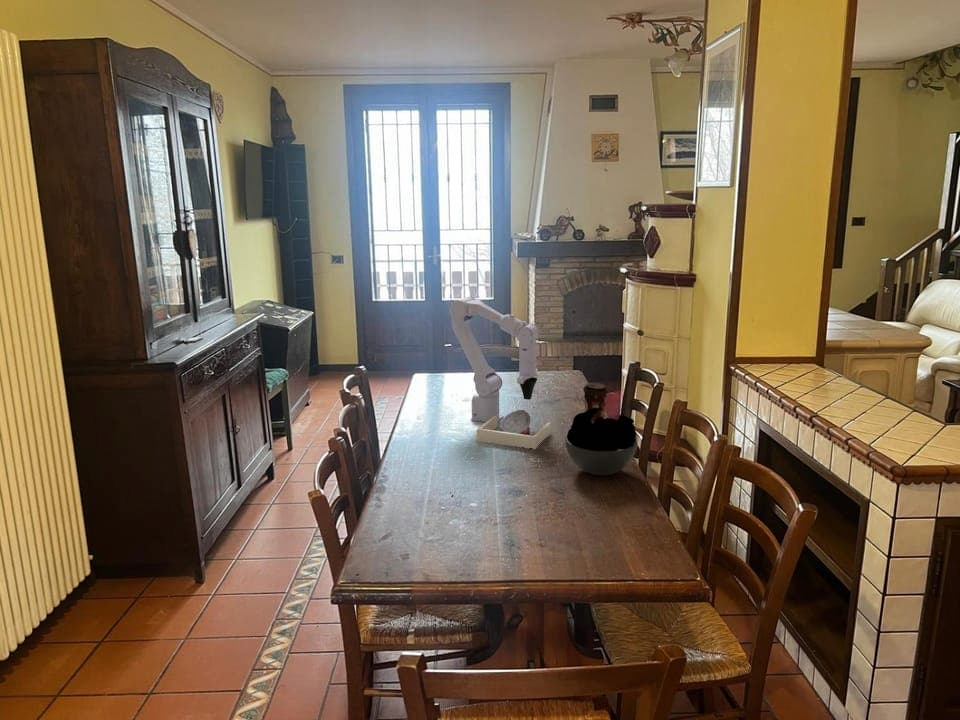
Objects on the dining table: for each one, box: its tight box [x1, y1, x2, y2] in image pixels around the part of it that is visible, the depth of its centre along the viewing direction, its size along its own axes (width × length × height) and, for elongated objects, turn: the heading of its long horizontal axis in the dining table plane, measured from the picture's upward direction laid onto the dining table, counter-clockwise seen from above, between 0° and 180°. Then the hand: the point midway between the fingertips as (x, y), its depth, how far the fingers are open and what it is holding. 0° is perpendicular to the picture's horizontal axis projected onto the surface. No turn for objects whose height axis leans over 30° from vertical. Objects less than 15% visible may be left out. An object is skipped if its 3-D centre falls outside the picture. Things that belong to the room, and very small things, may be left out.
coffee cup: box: [582, 382, 609, 423], centre depth 235 cm, size 9×8×13 cm
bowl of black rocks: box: [564, 408, 638, 476], centre depth 190 cm, size 20×20×19 cm
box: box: [476, 416, 551, 450], centre depth 220 cm, size 20×15×4 cm
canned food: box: [499, 409, 531, 436], centre depth 221 cm, size 11×10×10 cm
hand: (527, 398), depth 230 cm, fingers closed
